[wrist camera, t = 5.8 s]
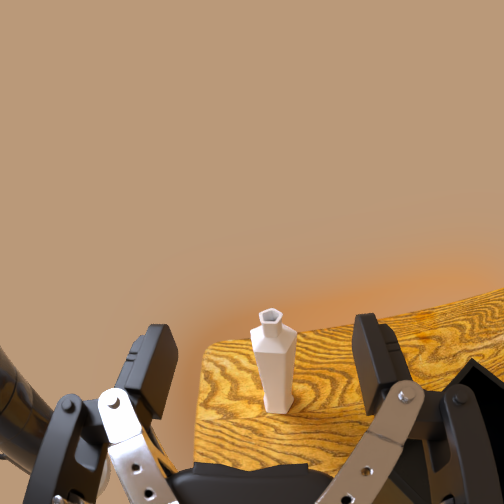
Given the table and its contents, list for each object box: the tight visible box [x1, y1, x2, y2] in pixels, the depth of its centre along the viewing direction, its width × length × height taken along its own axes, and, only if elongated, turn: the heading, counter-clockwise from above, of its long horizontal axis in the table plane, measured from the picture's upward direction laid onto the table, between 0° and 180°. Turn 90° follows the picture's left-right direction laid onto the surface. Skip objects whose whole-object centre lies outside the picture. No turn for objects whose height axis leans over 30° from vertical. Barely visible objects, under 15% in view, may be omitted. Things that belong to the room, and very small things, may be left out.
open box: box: [372, 358, 504, 504], centre depth 17 cm, size 16×16×10 cm
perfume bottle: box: [250, 308, 297, 414], centre depth 30 cm, size 5×4×15 cm
